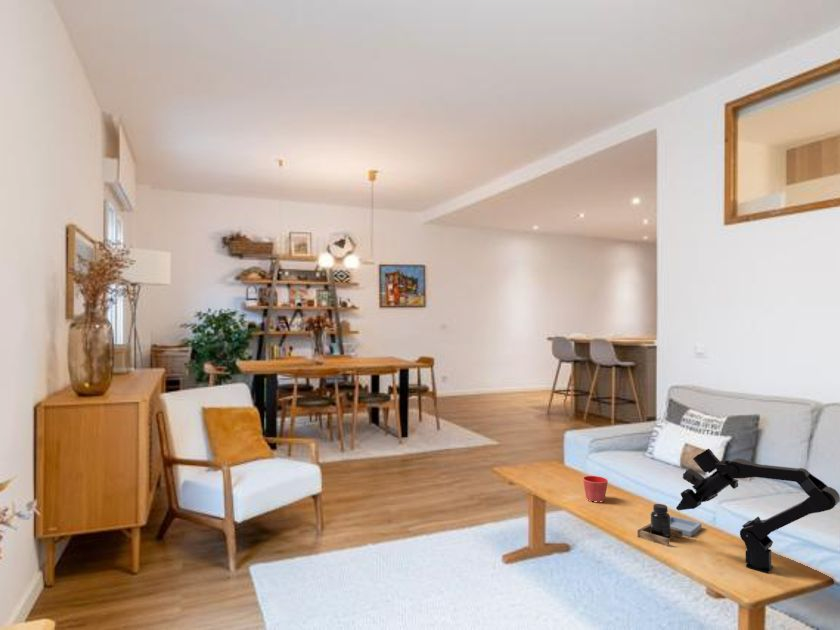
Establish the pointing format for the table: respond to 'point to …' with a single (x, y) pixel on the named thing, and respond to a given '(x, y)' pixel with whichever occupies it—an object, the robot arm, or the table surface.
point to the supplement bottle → (660, 521)
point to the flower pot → (595, 488)
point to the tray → (685, 526)
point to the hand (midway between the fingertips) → (682, 506)
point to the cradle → (655, 538)
